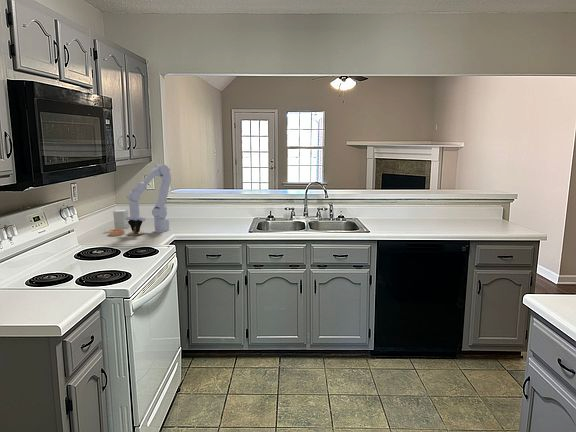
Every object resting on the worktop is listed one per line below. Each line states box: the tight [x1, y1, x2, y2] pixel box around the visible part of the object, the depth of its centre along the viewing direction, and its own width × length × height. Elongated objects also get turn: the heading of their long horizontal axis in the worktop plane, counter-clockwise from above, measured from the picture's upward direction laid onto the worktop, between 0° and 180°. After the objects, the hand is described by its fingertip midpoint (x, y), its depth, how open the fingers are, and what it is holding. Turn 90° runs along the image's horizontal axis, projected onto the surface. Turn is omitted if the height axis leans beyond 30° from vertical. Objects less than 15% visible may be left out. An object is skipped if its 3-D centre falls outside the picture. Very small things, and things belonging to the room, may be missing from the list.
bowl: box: [108, 228, 126, 237], centre depth 284 cm, size 9×9×3 cm
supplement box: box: [112, 209, 130, 230], centre depth 305 cm, size 7×7×13 cm
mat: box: [125, 232, 150, 238], centre depth 284 cm, size 11×11×1 cm
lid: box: [127, 227, 145, 237], centre depth 283 cm, size 10×10×4 cm
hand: (135, 231), depth 283 cm, fingers closed on lid, 3 cm apart
